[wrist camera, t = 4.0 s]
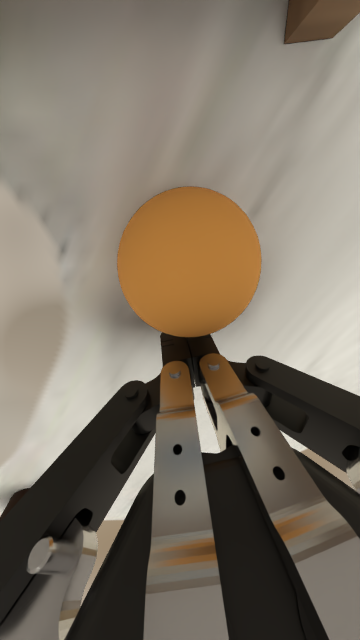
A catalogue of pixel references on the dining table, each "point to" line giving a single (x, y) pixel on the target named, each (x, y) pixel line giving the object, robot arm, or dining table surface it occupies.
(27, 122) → the dining table surface
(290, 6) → the bridge
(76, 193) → the dining table surface
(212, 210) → the ball
